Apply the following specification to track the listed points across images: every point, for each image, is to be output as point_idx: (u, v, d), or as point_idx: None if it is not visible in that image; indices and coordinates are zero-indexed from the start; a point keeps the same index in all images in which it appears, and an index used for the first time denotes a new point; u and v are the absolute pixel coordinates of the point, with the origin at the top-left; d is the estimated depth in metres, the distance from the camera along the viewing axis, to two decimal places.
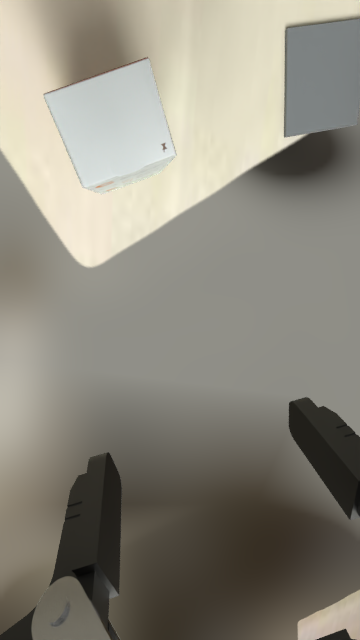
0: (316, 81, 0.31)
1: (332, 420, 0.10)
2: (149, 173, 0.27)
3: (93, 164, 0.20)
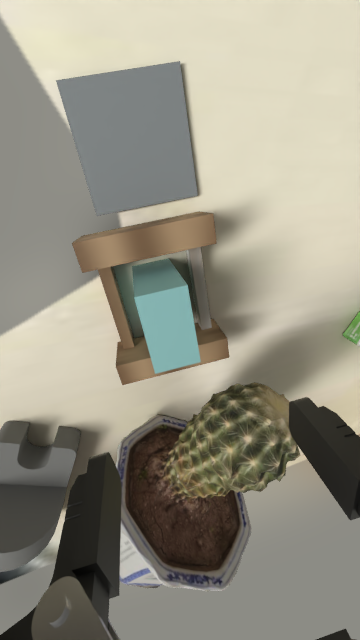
0: (131, 127, 0.22)
1: (332, 420, 0.10)
2: None
3: None
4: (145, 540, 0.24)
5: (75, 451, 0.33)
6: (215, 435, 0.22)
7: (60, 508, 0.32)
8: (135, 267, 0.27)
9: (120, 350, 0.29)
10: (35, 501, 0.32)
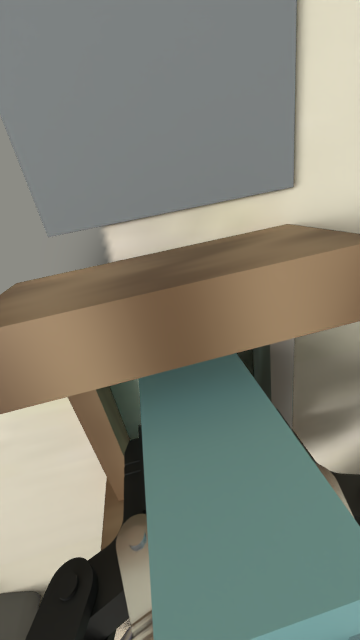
0: None
1: None
2: None
3: None
4: None
5: None
6: None
7: None
8: None
9: (111, 503, 0.14)
10: None
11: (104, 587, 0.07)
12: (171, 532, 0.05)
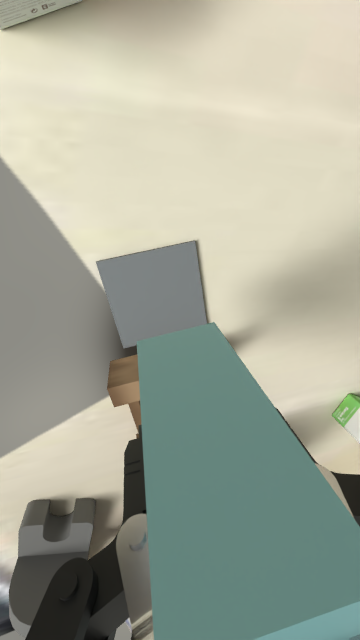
0: (154, 287, 0.27)
1: None
2: None
3: None
4: None
5: (92, 523, 0.37)
6: None
7: None
8: (144, 348, 0.12)
9: None
10: None
11: (104, 587, 0.07)
12: (171, 533, 0.05)
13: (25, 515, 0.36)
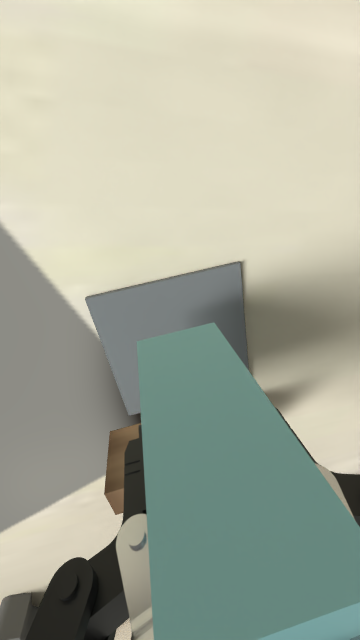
0: None
1: None
2: None
3: None
4: None
5: None
6: None
7: None
8: (144, 348, 0.12)
9: None
10: None
11: (104, 587, 0.07)
12: (171, 534, 0.05)
13: None
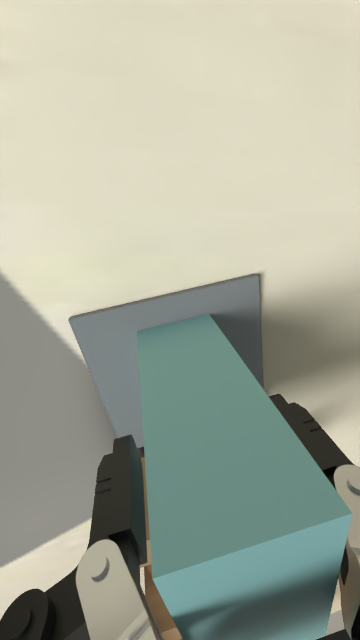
0: None
1: (301, 415, 0.10)
2: None
3: None
4: None
5: None
6: None
7: None
8: (143, 337, 0.13)
9: (149, 582, 0.22)
10: None
11: (62, 614, 0.06)
12: (166, 482, 0.06)
13: None
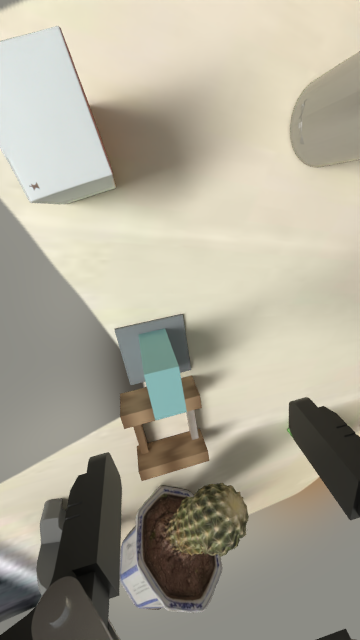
0: None
1: (332, 420, 0.10)
2: None
3: None
4: (156, 582, 0.40)
5: None
6: (199, 523, 0.38)
7: None
8: (140, 336, 0.37)
9: (139, 455, 0.45)
10: None
11: None
12: (146, 365, 0.30)
13: (43, 511, 0.46)
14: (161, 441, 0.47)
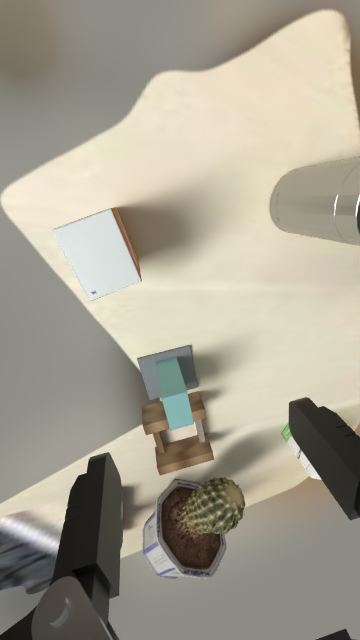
0: None
1: (332, 420, 0.10)
2: None
3: (71, 240, 0.25)
4: (172, 554, 0.51)
5: (122, 501, 0.58)
6: (205, 508, 0.48)
7: (121, 532, 0.59)
8: (157, 363, 0.47)
9: (157, 454, 0.56)
10: None
11: None
12: (163, 390, 0.40)
13: None
14: (174, 443, 0.58)
